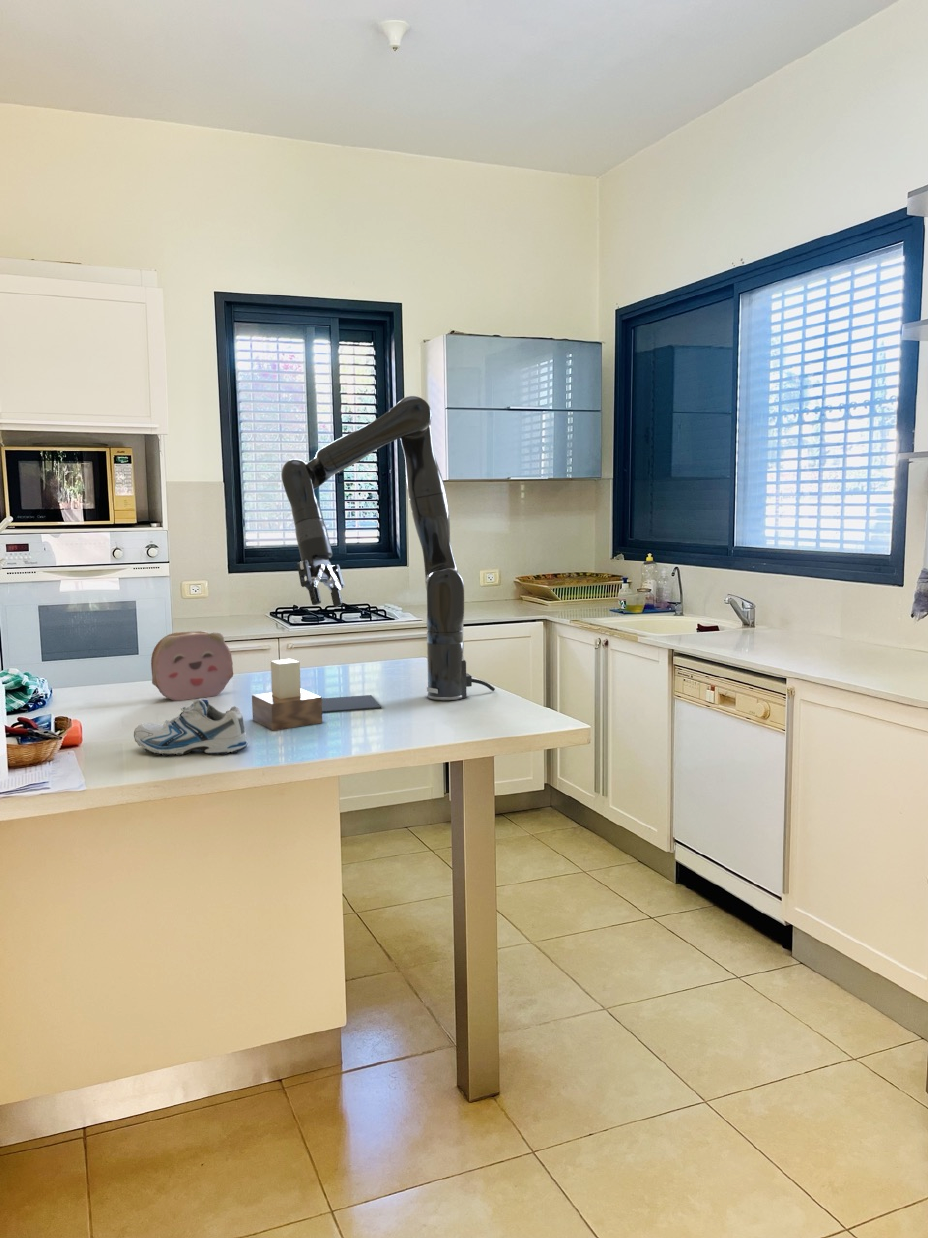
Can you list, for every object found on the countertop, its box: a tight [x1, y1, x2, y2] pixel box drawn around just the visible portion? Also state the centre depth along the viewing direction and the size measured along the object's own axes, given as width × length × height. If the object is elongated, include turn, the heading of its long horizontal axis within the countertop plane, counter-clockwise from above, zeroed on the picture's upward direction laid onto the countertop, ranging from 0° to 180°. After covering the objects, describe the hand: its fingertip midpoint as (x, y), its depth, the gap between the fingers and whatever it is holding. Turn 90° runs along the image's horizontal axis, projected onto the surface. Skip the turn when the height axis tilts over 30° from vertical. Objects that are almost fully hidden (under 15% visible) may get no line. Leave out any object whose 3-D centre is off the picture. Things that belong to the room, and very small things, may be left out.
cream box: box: [270, 658, 302, 699], centre depth 212 cm, size 5×5×8 cm
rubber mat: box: [322, 694, 382, 714], centre depth 230 cm, size 16×14×1 cm
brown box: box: [251, 688, 323, 732], centre depth 213 cm, size 12×12×6 cm
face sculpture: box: [150, 630, 234, 702], centre depth 240 cm, size 20×7×17 cm, turn 121°
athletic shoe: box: [133, 698, 249, 757], centre depth 190 cm, size 10×23×12 cm, turn 95°
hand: (327, 605), depth 222 cm, fingers open, 8 cm apart
